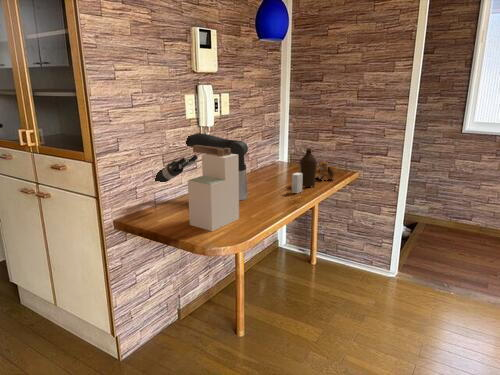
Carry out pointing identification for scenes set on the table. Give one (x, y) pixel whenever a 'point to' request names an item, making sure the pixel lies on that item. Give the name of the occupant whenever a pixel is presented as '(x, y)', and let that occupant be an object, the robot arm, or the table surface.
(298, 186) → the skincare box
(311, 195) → the table surface
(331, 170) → the stuffed squirrel
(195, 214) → the stepped stand
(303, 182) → the olive oil
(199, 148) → the walnut T-handle
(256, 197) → the table surface
